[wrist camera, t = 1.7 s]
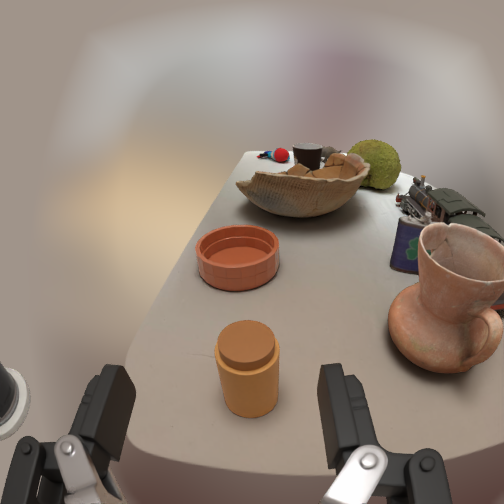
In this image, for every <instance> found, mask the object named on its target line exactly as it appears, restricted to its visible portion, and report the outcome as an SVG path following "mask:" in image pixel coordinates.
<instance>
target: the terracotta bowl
mask: <svg viewBox="0 0 504 504" xmlns="http://www.w3.org/2000/svg"><path fill="white" fill-rule="evenodd" d="M195 251H196V257H197V263H198V268H199V273H200V275H201V277H202V278H203V279H204V280H205V281H206V282H207V283H208V284H210V285H211V286H213V287H216V288H218V289H222V290H228V291H243V290H249V289H253V288H256V287H259V286H261V285H263V284H265V283H266V282H268V281H269V280H270V279H271V278H272V277H273V276H274V275H275V273H276V271H277V269H278V267H279V241H278V238H277V237H276V236H275V234H274V233H272V232H270V231H269V230H267V229H265V228H261V227H258V226H252V225H231V226H226V227H221V228H218V229H215V230H212V231H210V232H209V233H207V234H205V235H204V236H202V237H201V238H200V239H199V240H198V242H197V244H196V247H195Z"/></svg>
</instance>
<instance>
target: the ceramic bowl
mask: <svg viewBox="0 0 504 504" xmlns="http://www.w3.org/2000/svg"><path fill="white" fill-rule="evenodd" d="M370 166H371V165H370V164H369V163H364V159H362V157H360V156H359V155H357V154H355V153H350V154H348V155H347V156H345V155H344V154H340V153H333V154H331V155H330V157H329V158H328V160H327V162H326V163H325V165H324V167H323V168H322V169H318V170H315V171H309V170H310V169H309V168H307V167H305V166H303V165H302V164H300V163H298V164H296V165H295V166H294V167H292V168H290V169H289V170H288V171H287V172H286V171H284V172H281V173H277V174H276V173H267V172H259V171H256V172H255V175H254V176H253V177H252V179H251V180H247V181H245V182H244V181H238V182H236V186H237V187H238V188H239V190H240V191H241V192H242V193H243V194H244V195H245V196H246V197H247V198H248V199H249V200H250V201H252V202H253V203H254V204H255V205H257V206H259V207H260V208H262V209H264V210H266V211H268V212H270V213H274V214H277V215H283V216H291V217H304V218H305V217H315V216H319V215H323V214H326V213H328V212H331V211H334V210H336V209H338V208H339V207H341V206H342V205H344V204H345V203H346V202H347V201H348V200H349V199H350V198H351V197H352V196H353V195H354V194H355V193H356V192H357V190H358V188H359V187H360V184H361V182H362V180H363V179H364V177H366V176H367V174H368V172H369V171H370Z"/></svg>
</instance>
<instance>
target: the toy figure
mask: <svg viewBox="0 0 504 504" xmlns="http://www.w3.org/2000/svg"><path fill="white" fill-rule="evenodd" d="M263 156H267V157H272V159H274V160H276V161H278V162H282V161H285V160H287V159H290V156H289V153H288V151H287V150H285V149H282V148H278V149H275V150H273V151H266V152H264V153H263V154H260V155H259V156H257V157H263Z"/></svg>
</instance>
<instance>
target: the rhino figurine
mask: <svg viewBox="0 0 504 504" xmlns="http://www.w3.org/2000/svg"><path fill="white" fill-rule="evenodd" d="M340 152H341V151H337V150H335V149H334V148H332V147H323V146H322V154H321V157H325V160H324V163H326V162H327V159H328V158H329V157H330V155H331V154H333V153H340Z"/></svg>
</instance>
